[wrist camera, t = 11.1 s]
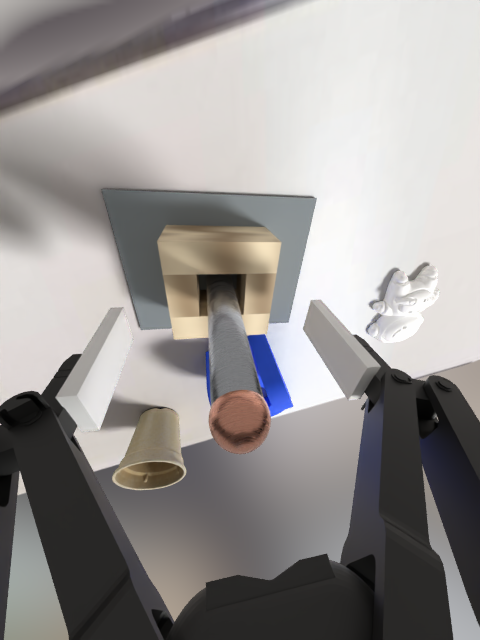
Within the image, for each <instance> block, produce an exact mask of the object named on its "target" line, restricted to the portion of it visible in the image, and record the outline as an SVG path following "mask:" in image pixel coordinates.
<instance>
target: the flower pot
mask: <svg viewBox="0 0 480 640" xmlns="http://www.w3.org/2000/svg"><path fill="white" fill-rule="evenodd" d="M185 475H186V468H185V466H184V465H183V458H182V456H181V446H180V430H179V416H178V414H177V413H176V412H175V411H173V410H171V409H168V408H163V409H157V408H153V409H150V410H147V411H145V412H144V413H143V414H142V415H141V416H140V419H139V422H138V424H137V427H136V430H135V432H134V435H133V437H132V440H131V442H130V445H129V447H128V450H127V452H126V455H125V457H124V458H123V459H122V461H121V463H120V465H119V468H118V469H116V471H115V472H114V473H113V476H112V479H113V482H114V483H115V484H116V485H119V486H120V487H123V488H127V489H133V490H150V489H158V488H163V487H167V486H170V485H172V484H175V483H177V482H178V481H180V480H181V479H183V477H184V476H185Z"/></svg>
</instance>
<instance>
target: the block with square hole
mask: <svg viewBox="0 0 480 640" xmlns="http://www.w3.org/2000/svg"><path fill="white" fill-rule="evenodd" d="M157 244H158V250H159V255H160V261H161V267H162V273H163V279H164V284H165V290H166V296H167V302H168V308H169V313H170V319H171V325H172V331H173V337H174V340H175V339H192V338H208V311H207V290H200V289H199V274H237V286H236V289H235V293H236V297H237V301H238V304H239V308H240V312H241V315H242V319H243V323H244V327H245V330H246V334H247V335H260V334H267V330H268V323H269V317H270V311H271V305H272V298H273V292H274V286H275V280H276V273H277V267H278V261H279V255H280V249H281V241H280V240H279V239H278V238H276V237H275V236H274V235H273V234H272V233H271V232H270V231H269V230H268V229H267V228H266V227H247V226H196V225H166V226H165V228H164V230H163V232H162V233H161V235H160V237H159V239H158V240H157Z"/></svg>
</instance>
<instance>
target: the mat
mask: <svg viewBox="0 0 480 640" xmlns="http://www.w3.org/2000/svg"><path fill="white" fill-rule="evenodd" d="M101 190H102V193H103V197H104V200H105V204H106V207H107V211H108V215H109V218H110V222H111V225H112V229H113V232H114V236H115V239H116V243H117V246H118V250H119V253H120V257H121V261H122V264H123V268H124V271H125V275H126V278H127V282H128V285H129V289H130V292H131V296H132V300H133V303H134V307H135V310H136V314H137V317H138V321H139V324H140V328H141V330H150V329H170V328H172V325H171V319H170V313H169V308H168V302H167V296H166V290H165V284H164V279H163V273H162V267H161V261H160V255H159V250H158V244H157V240H158V239H159V237H160V235H161V233H162V232H163V230H164V228H165V226H166V225H196V226H247V227H266V228H267V229H268V230H269V231H270V232H271V233H272V234H273V235H274V236H275V237H276V238H278V239H279V240H280V241H281V249H280V255H279V261H278V267H277V273H276V280H275V286H274V292H273V298H272V305H271V311H270V317H269V323H287V322H289V318H290V313H291V309H292V305H293V300H294V296H295V291H296V287H297V283H298V278H299V274H300V269H301V265H302V261H303V256H304V252H305V248H306V243H307V239H308V234H309V230H310V226H311V221H312V217H313V212H314V208H315V204H316V199H317V198H303V197H279V196H256V195H232V194H208V193H185V192H161V191H138V190H114V189H101ZM230 275H231V278H232V282H233V286H234V289H236V286H237V274H230ZM199 289H200V290H207V282H206V274H199Z"/></svg>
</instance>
